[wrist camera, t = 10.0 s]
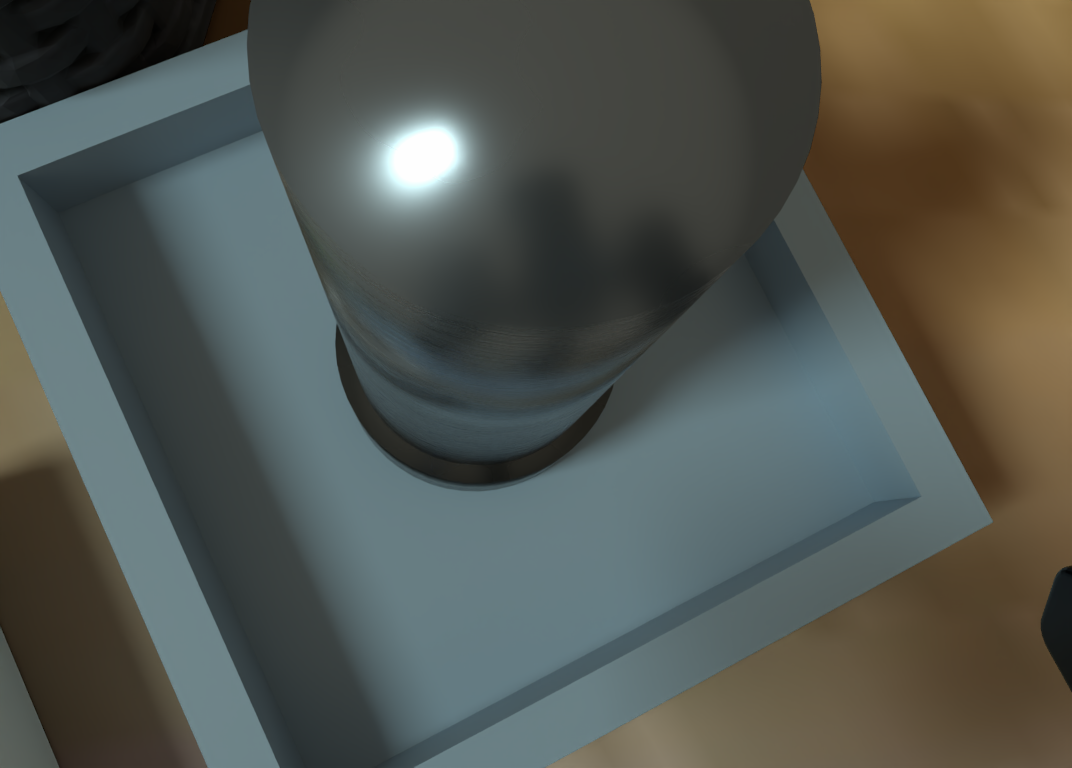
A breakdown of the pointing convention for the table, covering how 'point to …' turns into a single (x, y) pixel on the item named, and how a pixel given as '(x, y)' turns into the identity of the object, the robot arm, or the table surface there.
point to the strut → (522, 197)
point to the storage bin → (88, 45)
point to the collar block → (19, 720)
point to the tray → (414, 505)
